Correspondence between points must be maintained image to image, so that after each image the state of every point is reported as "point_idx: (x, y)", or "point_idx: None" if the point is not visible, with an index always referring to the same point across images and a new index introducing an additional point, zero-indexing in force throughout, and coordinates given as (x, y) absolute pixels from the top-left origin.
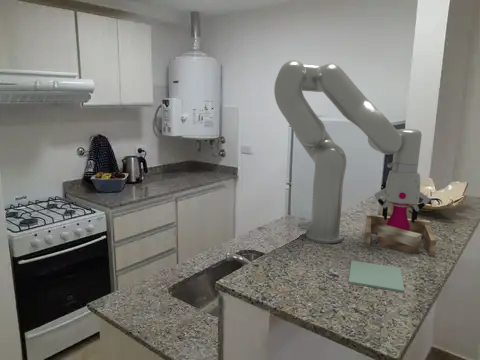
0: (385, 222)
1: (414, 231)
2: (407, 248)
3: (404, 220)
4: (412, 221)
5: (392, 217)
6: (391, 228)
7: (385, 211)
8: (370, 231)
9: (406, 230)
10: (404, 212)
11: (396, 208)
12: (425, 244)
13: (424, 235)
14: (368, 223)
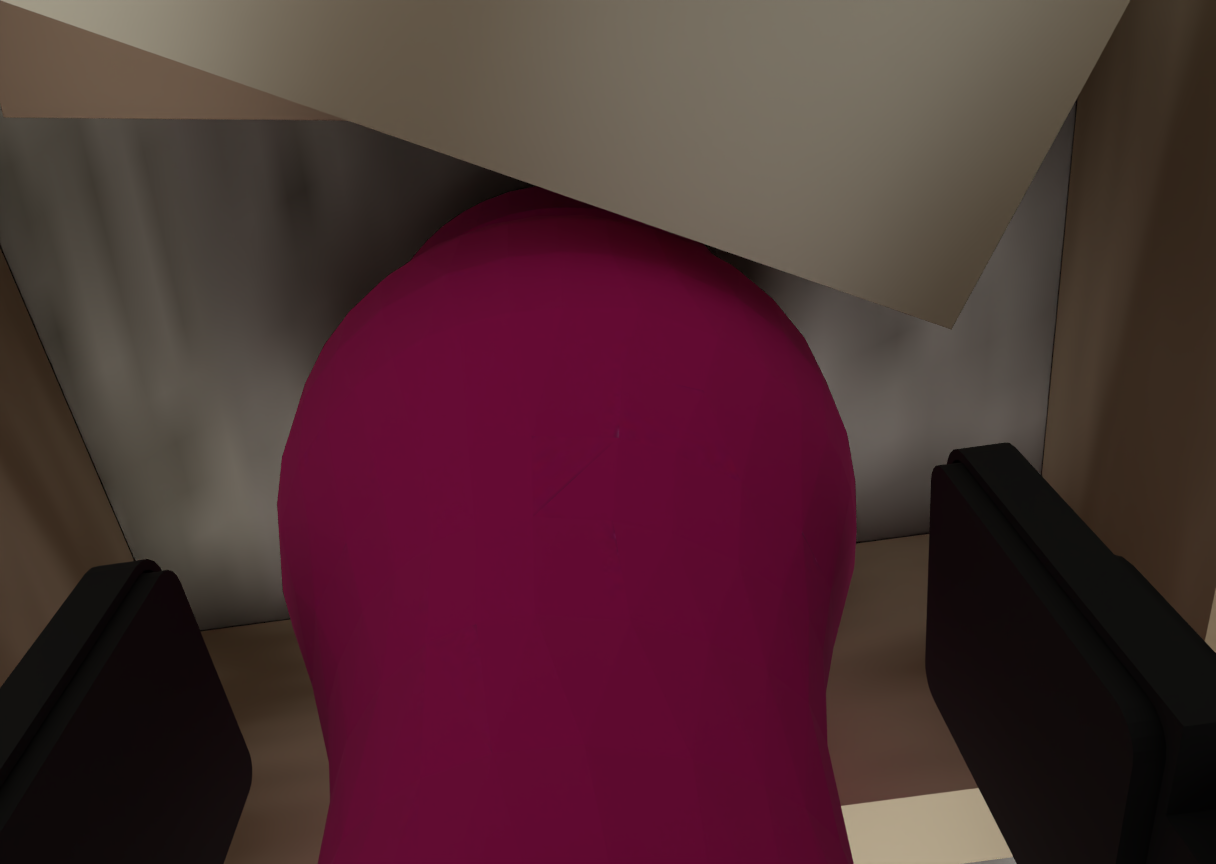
0: (847, 705)
1: (278, 695)
2: None
3: (374, 499)
4: (145, 587)
5: (783, 539)
6: (737, 33)
7: (1157, 619)
8: None
9: (269, 73)
10: (366, 756)
11: (752, 831)
12: (18, 328)
13: (64, 587)
14: None
